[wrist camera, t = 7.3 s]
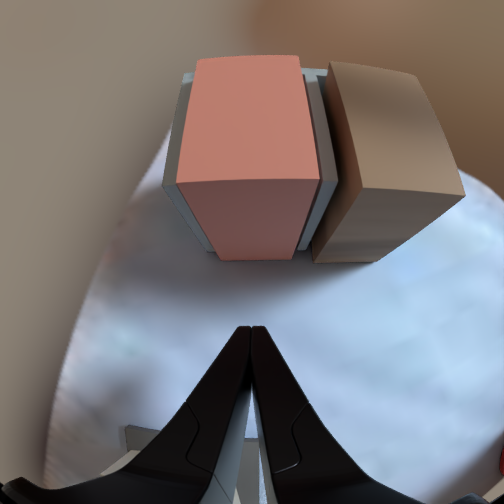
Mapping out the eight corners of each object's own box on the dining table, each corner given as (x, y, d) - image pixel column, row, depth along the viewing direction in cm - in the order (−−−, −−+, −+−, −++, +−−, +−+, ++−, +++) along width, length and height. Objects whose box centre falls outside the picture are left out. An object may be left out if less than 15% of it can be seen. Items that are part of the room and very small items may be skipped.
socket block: (387, 249, 16) (460, 190, 8) (206, 251, 17) (161, 185, 9) (372, 165, 18) (416, 84, 10) (211, 164, 18) (184, 73, 11)
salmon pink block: (291, 259, 16) (319, 178, 8) (221, 260, 16) (175, 182, 8) (285, 169, 18) (298, 55, 9) (224, 170, 18) (198, 59, 9)
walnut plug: (376, 261, 16) (465, 195, 7) (312, 263, 16) (363, 187, 7) (363, 174, 18) (415, 75, 9) (305, 172, 18) (329, 60, 9)
